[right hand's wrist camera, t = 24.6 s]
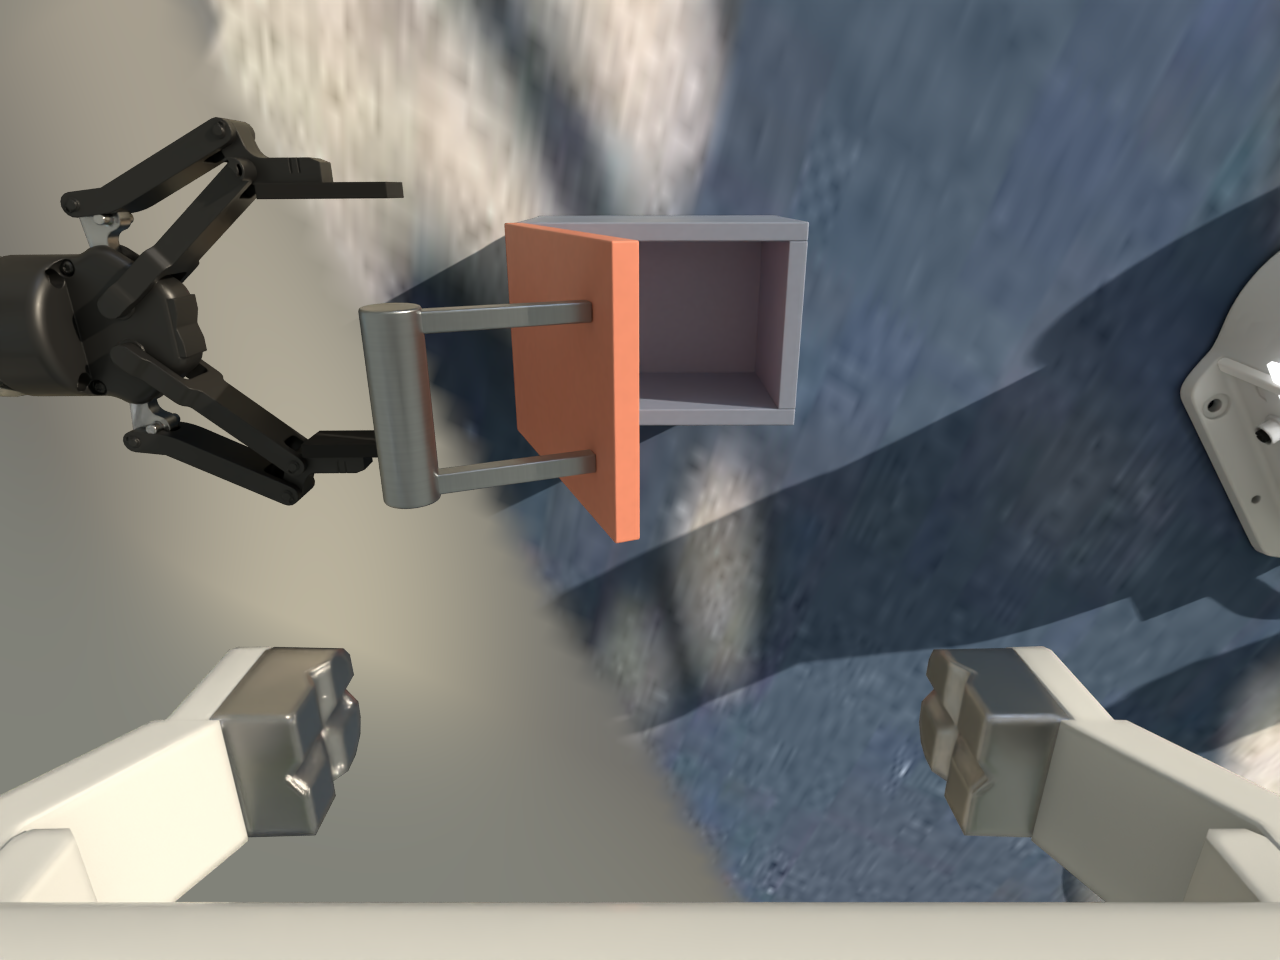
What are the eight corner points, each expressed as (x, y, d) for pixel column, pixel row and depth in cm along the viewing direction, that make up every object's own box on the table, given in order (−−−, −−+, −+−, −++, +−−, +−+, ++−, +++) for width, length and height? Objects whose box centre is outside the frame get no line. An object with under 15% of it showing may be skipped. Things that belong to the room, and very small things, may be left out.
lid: (639, 240, 23) (353, 248, 20) (640, 539, 27) (397, 583, 24) (523, 222, 36) (336, 226, 33) (534, 427, 39) (367, 447, 36)
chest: (776, 215, 45) (809, 221, 36) (766, 382, 49) (794, 425, 40) (539, 215, 45) (515, 222, 36) (547, 383, 49) (527, 426, 40)
